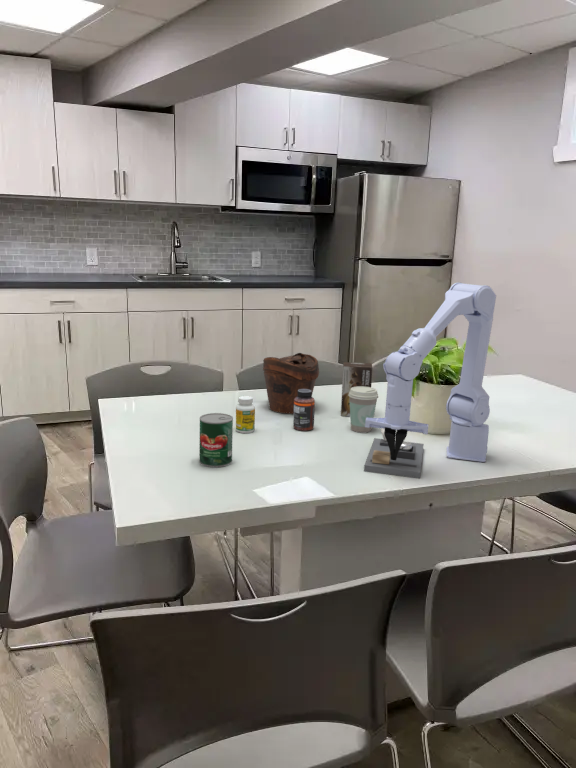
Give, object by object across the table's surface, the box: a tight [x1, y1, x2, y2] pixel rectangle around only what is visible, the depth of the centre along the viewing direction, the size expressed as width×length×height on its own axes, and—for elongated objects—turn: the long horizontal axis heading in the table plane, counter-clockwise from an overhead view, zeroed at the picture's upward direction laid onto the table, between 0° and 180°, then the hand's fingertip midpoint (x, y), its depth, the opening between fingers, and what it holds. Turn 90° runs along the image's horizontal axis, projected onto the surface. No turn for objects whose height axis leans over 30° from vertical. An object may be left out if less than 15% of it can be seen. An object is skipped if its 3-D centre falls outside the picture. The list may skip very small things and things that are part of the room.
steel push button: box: [399, 440, 412, 452], centre depth 147 cm, size 4×4×2 cm
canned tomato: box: [198, 412, 234, 468], centre depth 141 cm, size 8×8×11 cm
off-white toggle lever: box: [380, 428, 386, 440], centre depth 154 cm, size 1×1×4 cm
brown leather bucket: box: [262, 352, 320, 415], centre depth 189 cm, size 18×20×18 cm
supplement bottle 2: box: [292, 389, 316, 432], centre depth 169 cm, size 6×6×11 cm
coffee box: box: [340, 361, 373, 417], centre depth 185 cm, size 9×6×16 cm
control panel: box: [363, 437, 424, 479], centre depth 148 cm, size 13×21×3 cm, turn 165°
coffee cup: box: [349, 386, 379, 434], centre depth 170 cm, size 8×9×12 cm
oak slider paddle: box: [372, 450, 391, 465], centre depth 142 cm, size 4×3×2 cm
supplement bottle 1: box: [235, 395, 256, 434], centre depth 165 cm, size 5×5×10 cm
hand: (393, 458), depth 141 cm, fingers closed
